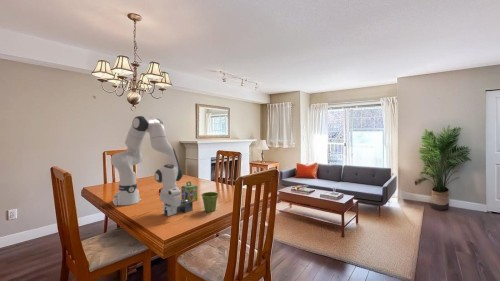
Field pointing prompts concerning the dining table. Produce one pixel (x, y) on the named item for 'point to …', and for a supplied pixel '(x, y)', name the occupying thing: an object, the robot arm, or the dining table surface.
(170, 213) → the lock block
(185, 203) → the coupler
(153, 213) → the dining table surface
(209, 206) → the plant pot
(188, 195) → the green patterned lantern
